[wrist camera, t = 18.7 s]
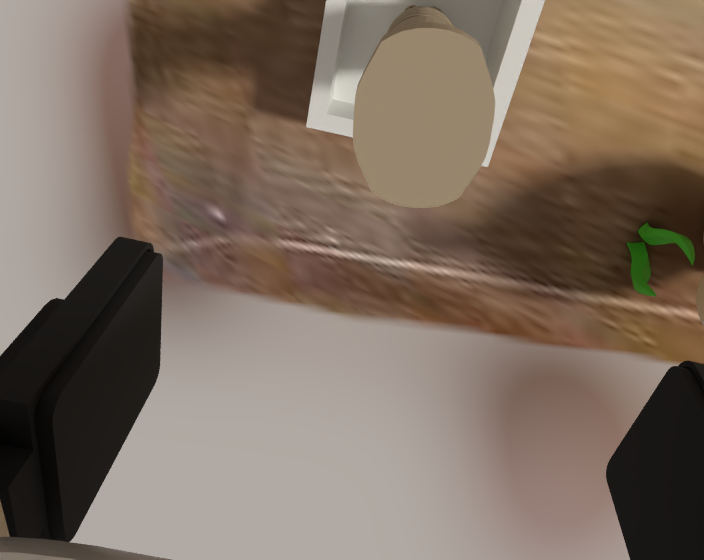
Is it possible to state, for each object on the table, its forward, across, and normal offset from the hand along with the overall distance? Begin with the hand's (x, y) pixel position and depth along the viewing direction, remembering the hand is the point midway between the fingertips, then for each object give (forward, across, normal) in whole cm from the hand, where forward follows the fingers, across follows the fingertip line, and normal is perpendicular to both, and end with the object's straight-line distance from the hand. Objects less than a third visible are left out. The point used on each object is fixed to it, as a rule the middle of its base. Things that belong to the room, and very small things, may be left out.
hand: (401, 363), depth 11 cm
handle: (+28, 0, 0) cm, 28 cm away
